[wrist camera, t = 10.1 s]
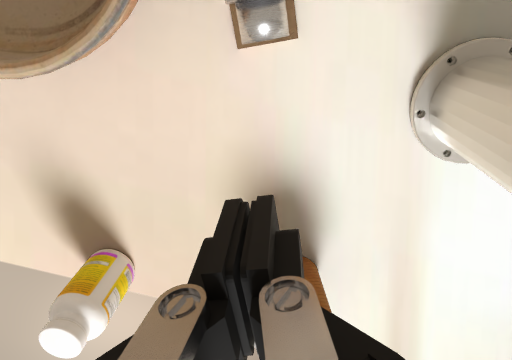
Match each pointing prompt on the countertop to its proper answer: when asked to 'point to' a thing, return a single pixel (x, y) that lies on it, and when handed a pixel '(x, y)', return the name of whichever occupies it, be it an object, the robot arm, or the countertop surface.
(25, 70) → the ceramic bowl
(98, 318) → the supplement bottle
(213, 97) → the countertop surface
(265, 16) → the pipe run
